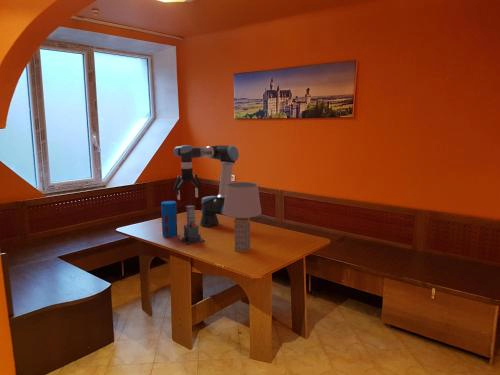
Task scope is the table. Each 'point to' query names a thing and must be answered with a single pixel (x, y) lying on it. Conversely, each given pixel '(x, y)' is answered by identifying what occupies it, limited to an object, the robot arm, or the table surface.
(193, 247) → the table surface
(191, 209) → the column
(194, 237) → the stand base
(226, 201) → the lamp
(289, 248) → the table surface
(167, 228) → the thermos
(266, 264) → the table surface
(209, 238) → the table surface
